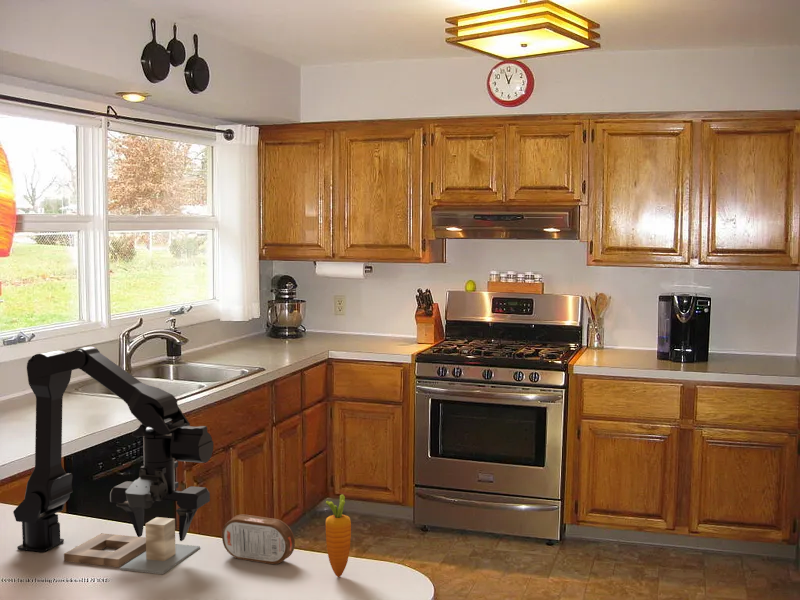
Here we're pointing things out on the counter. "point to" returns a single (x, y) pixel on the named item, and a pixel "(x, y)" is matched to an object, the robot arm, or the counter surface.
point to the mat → (160, 566)
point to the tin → (258, 539)
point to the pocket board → (94, 555)
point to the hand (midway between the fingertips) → (160, 538)
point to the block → (160, 539)
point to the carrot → (338, 537)
